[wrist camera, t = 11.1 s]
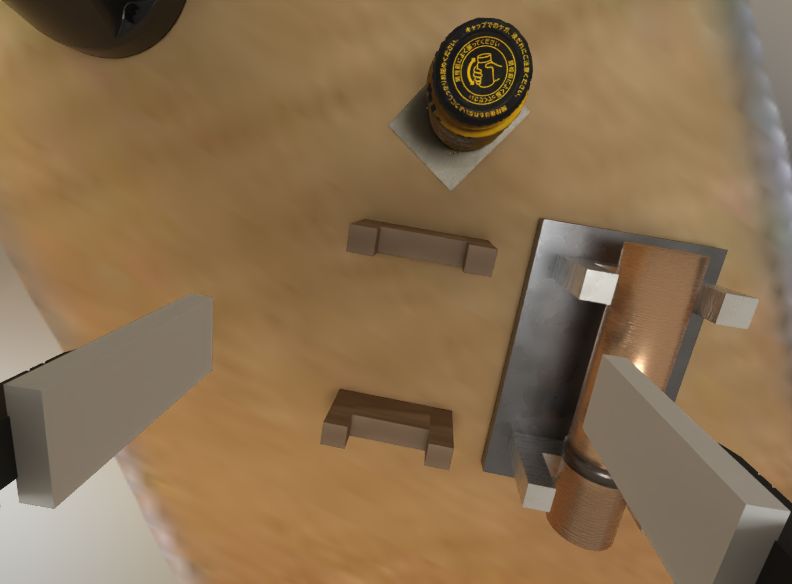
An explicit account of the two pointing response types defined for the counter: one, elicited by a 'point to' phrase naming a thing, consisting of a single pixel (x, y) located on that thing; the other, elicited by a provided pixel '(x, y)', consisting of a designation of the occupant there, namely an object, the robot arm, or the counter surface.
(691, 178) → the counter surface
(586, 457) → the tube
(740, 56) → the counter surface
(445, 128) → the condiment
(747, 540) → the robot arm
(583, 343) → the plate
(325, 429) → the walnut rack
